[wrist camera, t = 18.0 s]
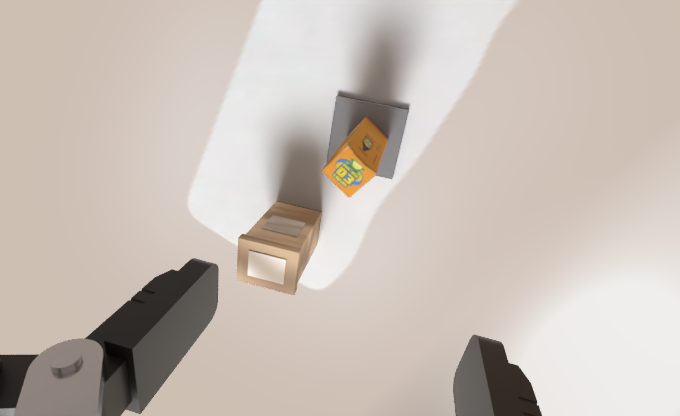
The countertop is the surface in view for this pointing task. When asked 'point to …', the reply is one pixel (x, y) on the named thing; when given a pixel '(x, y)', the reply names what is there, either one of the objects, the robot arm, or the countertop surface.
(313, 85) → the countertop surface
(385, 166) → the coaster
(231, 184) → the countertop surface
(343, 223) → the countertop surface
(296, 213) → the box
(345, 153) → the supplement box
